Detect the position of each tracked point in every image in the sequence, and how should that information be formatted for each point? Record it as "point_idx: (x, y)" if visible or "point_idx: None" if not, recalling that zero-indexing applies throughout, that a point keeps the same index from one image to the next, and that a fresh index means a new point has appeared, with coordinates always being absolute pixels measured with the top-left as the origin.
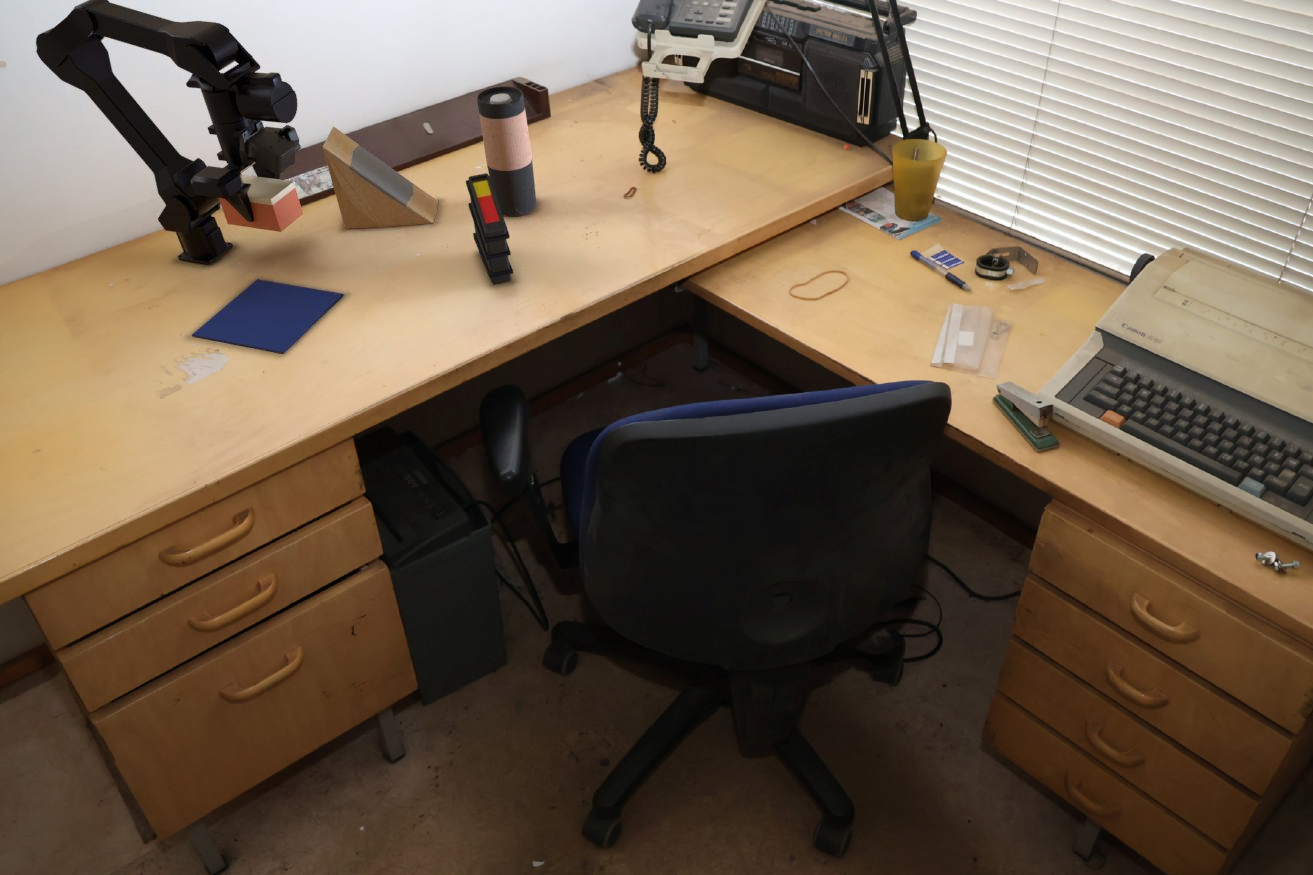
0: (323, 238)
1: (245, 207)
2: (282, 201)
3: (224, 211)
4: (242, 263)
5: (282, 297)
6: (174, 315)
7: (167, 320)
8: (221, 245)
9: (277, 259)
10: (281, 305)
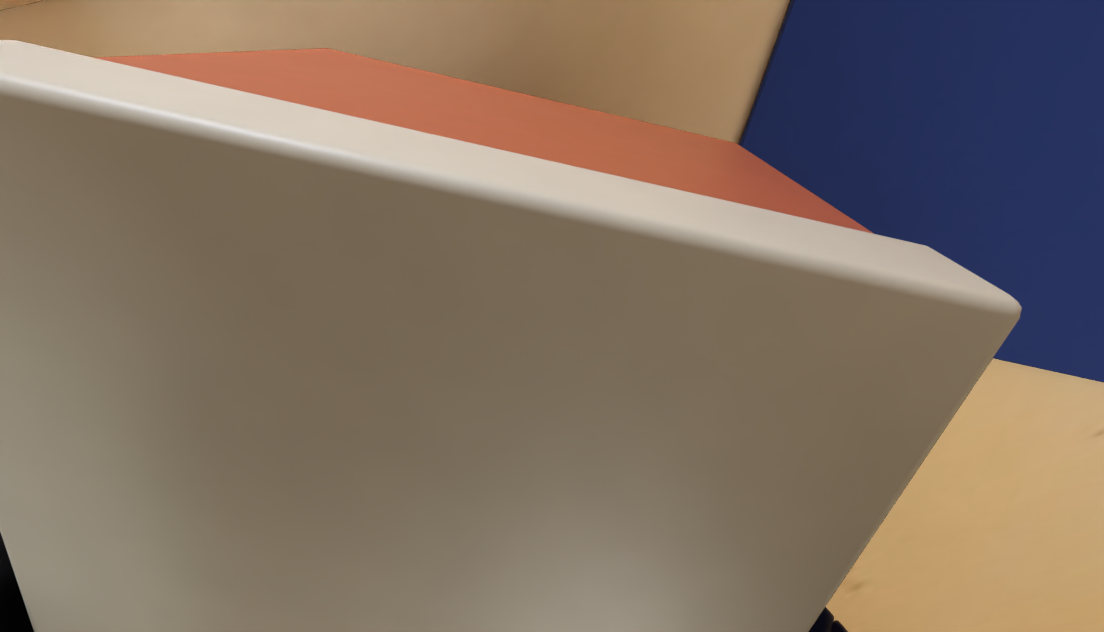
0: None
1: (824, 615)
2: (593, 163)
3: None
4: None
5: (908, 73)
6: (930, 503)
7: (962, 512)
8: None
9: None
10: (1003, 41)
